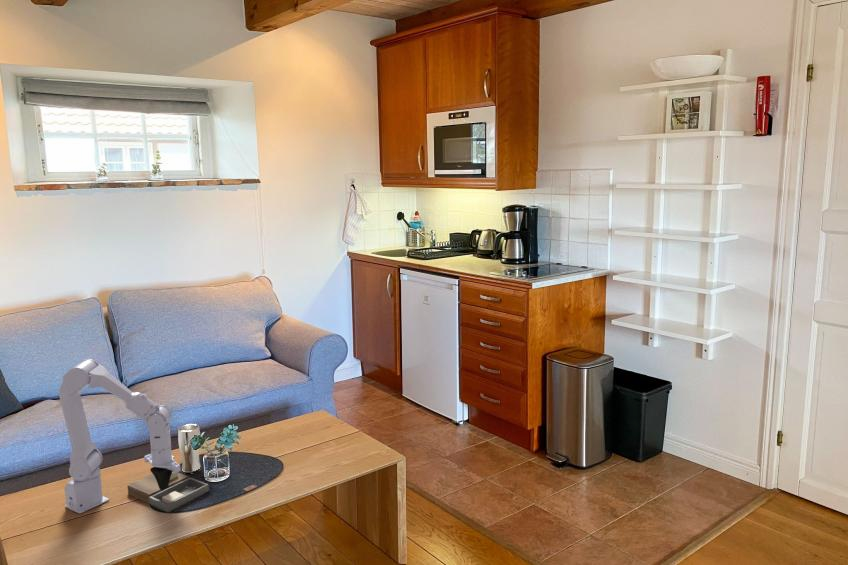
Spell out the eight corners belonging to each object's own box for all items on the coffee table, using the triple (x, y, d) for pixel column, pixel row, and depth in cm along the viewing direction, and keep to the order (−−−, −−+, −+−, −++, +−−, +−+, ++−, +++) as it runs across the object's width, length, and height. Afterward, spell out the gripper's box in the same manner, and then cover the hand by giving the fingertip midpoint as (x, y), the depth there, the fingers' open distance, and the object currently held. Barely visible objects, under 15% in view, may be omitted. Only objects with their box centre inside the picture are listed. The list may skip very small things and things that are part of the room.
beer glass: (175, 471, 218) (173, 429, 216) (192, 463, 224) (189, 422, 222) (190, 476, 215) (187, 433, 212) (206, 468, 221) (204, 426, 218)
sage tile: (165, 481, 205) (165, 476, 204) (156, 478, 207) (156, 472, 207) (177, 476, 208) (177, 470, 208) (168, 472, 211) (168, 467, 210)
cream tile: (162, 497, 196) (162, 503, 197) (171, 501, 194) (172, 507, 194) (174, 491, 200) (175, 497, 201) (184, 494, 198) (184, 501, 198)
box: (168, 512, 192) (167, 505, 192) (149, 504, 197) (148, 497, 196) (209, 491, 205) (208, 484, 204) (190, 484, 209) (190, 477, 209)
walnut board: (150, 503, 197) (149, 494, 197) (128, 494, 203) (127, 485, 203) (188, 484, 209) (188, 476, 208) (166, 476, 215) (166, 467, 214)
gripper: (187, 447, 196) (190, 489, 199) (157, 437, 204) (160, 477, 206) (167, 456, 191) (170, 499, 193) (137, 445, 198) (140, 486, 200)
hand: (163, 488), depth 199 cm, fingers closed
